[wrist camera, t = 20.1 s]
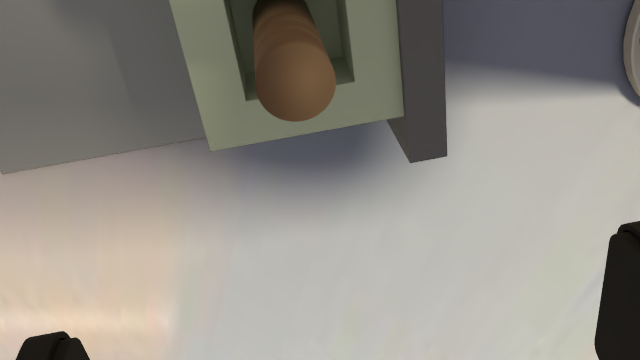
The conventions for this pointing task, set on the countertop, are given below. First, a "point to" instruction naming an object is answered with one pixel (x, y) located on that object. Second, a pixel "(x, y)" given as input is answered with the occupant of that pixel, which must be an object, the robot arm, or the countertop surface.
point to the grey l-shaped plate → (156, 81)
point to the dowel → (290, 61)
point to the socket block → (239, 70)
